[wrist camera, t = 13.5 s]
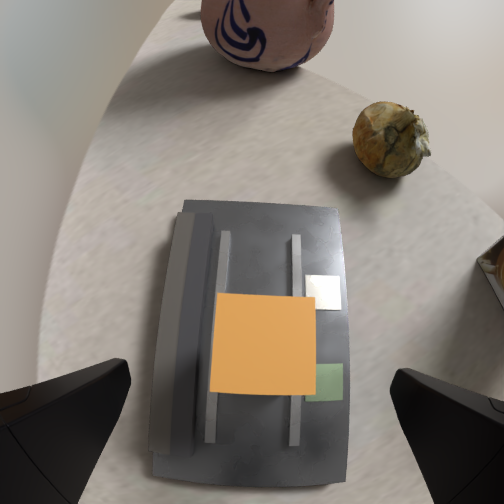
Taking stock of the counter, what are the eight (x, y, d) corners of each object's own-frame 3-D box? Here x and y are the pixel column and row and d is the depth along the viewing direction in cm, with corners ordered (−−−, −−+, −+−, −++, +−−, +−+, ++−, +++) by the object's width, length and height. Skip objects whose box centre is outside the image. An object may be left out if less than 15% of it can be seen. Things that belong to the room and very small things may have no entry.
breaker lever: (283, 394, 16) (315, 394, 9) (224, 391, 16) (209, 391, 9) (285, 338, 18) (315, 297, 11) (228, 336, 18) (217, 292, 11)
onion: (420, 163, 28) (451, 110, 21) (398, 206, 25) (437, 146, 18) (364, 127, 30) (384, 70, 23) (332, 162, 27) (353, 95, 20)
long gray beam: (193, 454, 15) (190, 458, 14) (153, 447, 15) (148, 451, 14) (213, 222, 22) (212, 213, 21) (180, 221, 22) (177, 212, 21)
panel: (338, 476, 15) (348, 484, 13) (158, 470, 15) (149, 477, 13) (333, 218, 24) (340, 203, 22) (187, 210, 24) (183, 195, 22)
